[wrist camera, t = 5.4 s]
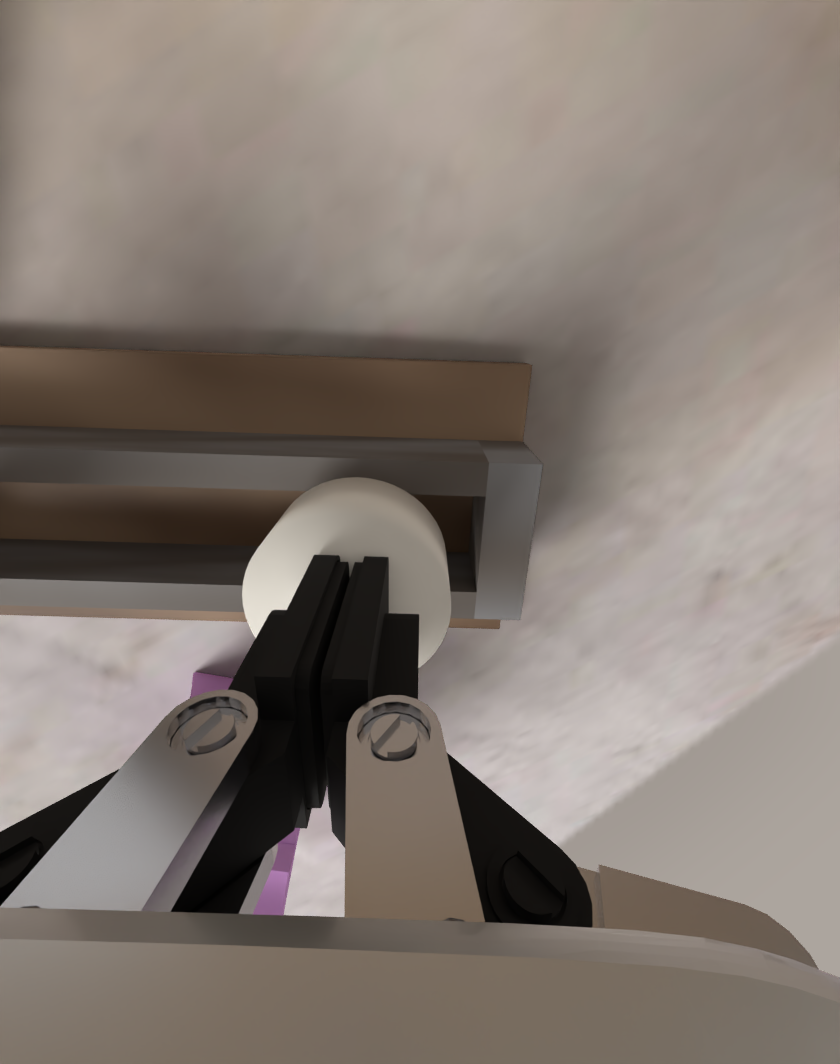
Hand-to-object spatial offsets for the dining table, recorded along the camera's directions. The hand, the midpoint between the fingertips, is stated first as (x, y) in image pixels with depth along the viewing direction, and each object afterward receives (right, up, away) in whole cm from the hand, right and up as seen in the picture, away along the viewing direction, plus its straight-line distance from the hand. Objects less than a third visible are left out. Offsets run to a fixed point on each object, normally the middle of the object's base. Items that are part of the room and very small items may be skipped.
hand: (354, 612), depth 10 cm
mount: (-6, +3, +7) cm, 10 cm away
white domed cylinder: (0, +2, +5) cm, 5 cm away
